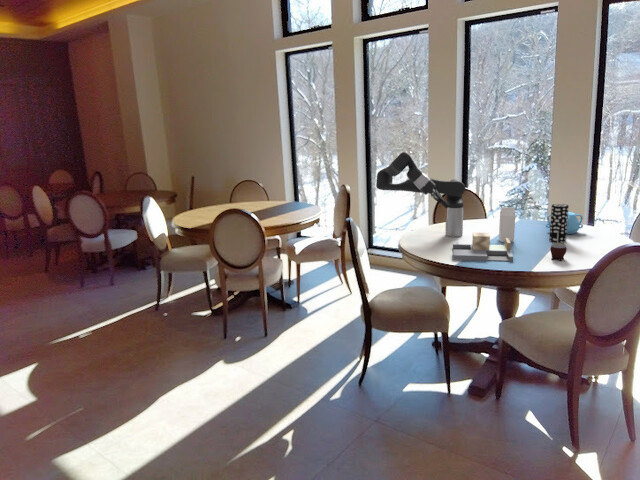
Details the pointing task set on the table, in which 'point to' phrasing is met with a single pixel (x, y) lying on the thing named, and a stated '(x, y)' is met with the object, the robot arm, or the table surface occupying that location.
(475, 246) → the beech block
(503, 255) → the trap deck
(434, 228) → the table surface
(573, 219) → the decorative pot
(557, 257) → the mate gourd
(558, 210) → the white-spotted black cylinder
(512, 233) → the milk carton
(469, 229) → the table surface
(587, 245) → the table surface
